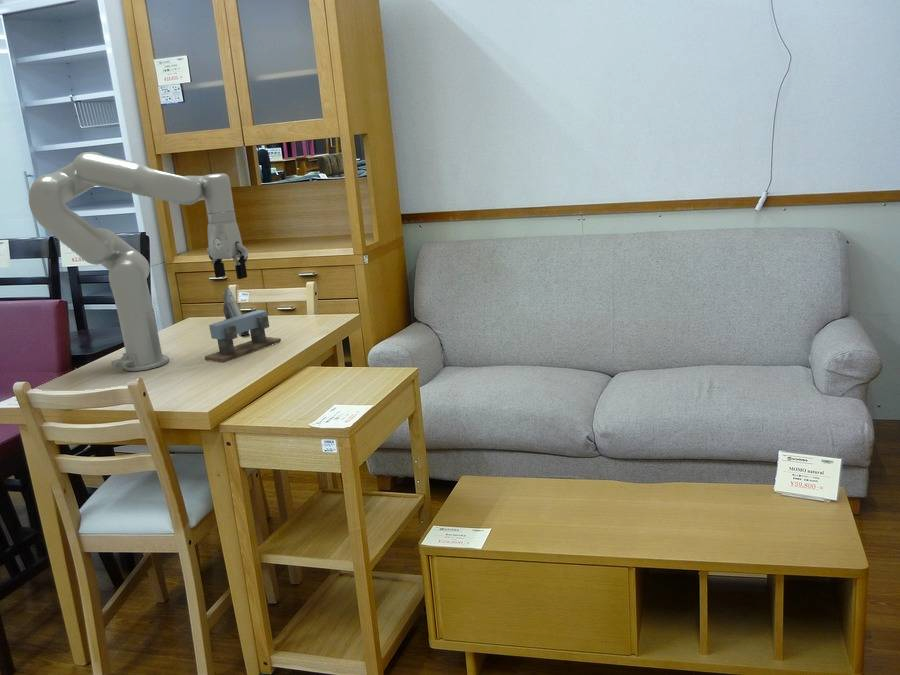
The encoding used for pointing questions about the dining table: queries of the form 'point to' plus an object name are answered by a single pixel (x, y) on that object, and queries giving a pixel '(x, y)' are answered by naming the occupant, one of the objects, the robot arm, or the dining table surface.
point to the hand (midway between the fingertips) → (231, 277)
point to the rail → (236, 324)
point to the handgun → (231, 307)
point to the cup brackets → (231, 351)
